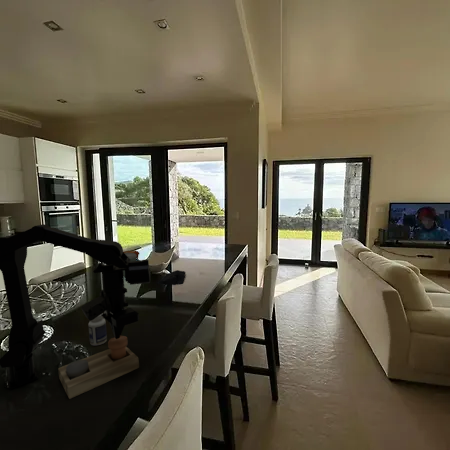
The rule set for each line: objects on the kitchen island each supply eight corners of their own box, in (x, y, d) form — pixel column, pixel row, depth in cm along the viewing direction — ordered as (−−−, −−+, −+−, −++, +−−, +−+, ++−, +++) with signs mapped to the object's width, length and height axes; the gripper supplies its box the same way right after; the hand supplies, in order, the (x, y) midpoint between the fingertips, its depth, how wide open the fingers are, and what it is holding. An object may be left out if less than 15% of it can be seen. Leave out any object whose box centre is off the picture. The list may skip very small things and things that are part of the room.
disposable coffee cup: (140, 274, 180) (139, 251, 179) (133, 279, 170) (132, 255, 168) (125, 274, 181) (123, 252, 180) (117, 279, 171) (115, 255, 169)
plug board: (59, 378, 76) (58, 368, 76) (123, 352, 88) (123, 343, 88) (69, 399, 68) (68, 387, 68) (139, 367, 80) (138, 357, 80)
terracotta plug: (106, 355, 82) (105, 340, 81) (124, 348, 85) (123, 334, 85) (113, 362, 78) (111, 347, 77) (131, 355, 81) (130, 340, 81)
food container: (116, 266, 207) (115, 251, 206) (138, 263, 213) (137, 249, 212) (117, 270, 192) (116, 255, 191) (141, 267, 199) (140, 252, 198)
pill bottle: (109, 337, 98) (107, 311, 97) (103, 345, 93) (101, 317, 92) (94, 338, 98) (91, 311, 97) (87, 346, 93) (84, 318, 92)
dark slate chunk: (189, 274, 178) (189, 267, 177) (182, 285, 156) (181, 277, 155) (166, 275, 179) (165, 267, 178) (155, 286, 157) (154, 277, 156)
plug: (65, 381, 75) (63, 365, 74) (86, 372, 78) (84, 357, 78) (70, 391, 71) (68, 374, 70) (92, 381, 74) (90, 365, 74)
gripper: (73, 285, 81) (78, 336, 83) (94, 302, 67) (99, 363, 69) (112, 277, 88) (115, 324, 90) (138, 290, 75) (141, 346, 76)
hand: (117, 338), depth 81 cm, fingers closed
